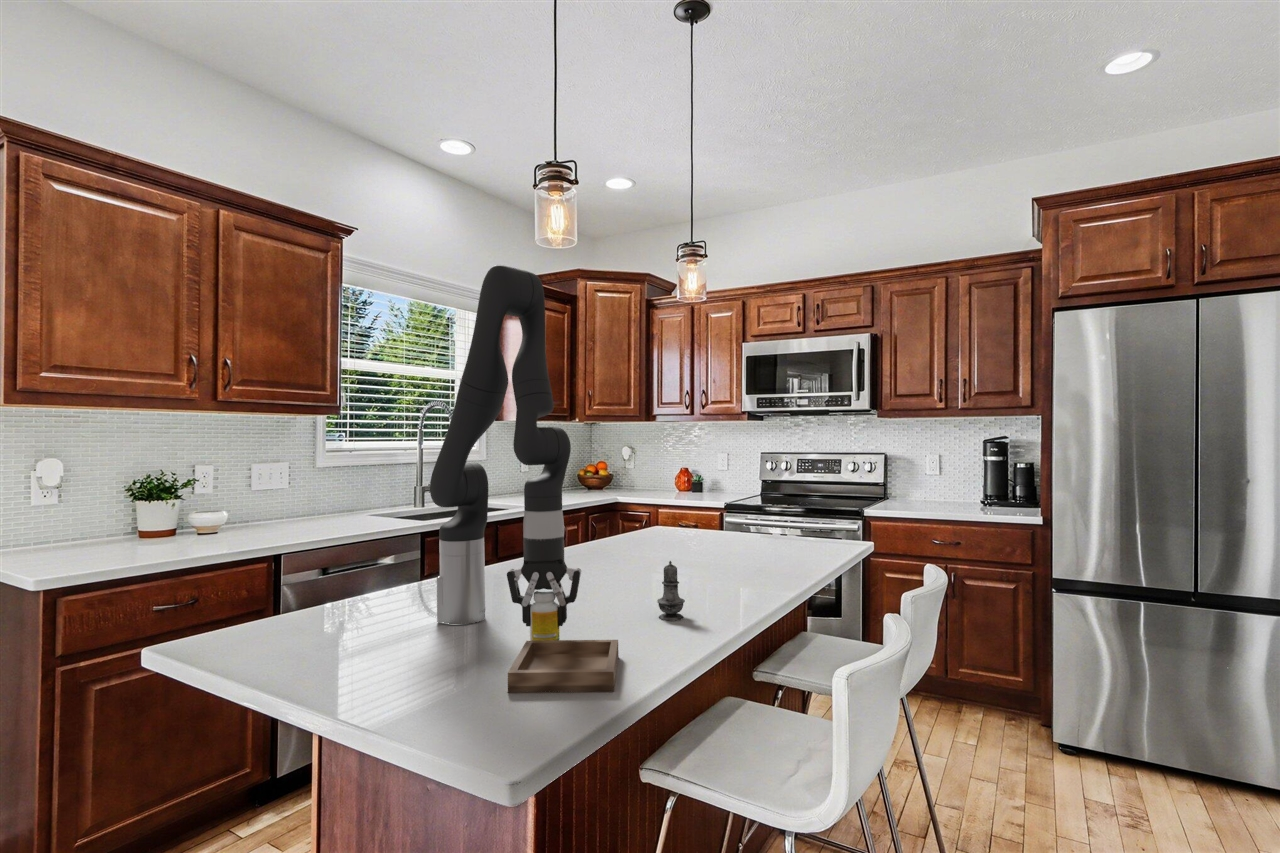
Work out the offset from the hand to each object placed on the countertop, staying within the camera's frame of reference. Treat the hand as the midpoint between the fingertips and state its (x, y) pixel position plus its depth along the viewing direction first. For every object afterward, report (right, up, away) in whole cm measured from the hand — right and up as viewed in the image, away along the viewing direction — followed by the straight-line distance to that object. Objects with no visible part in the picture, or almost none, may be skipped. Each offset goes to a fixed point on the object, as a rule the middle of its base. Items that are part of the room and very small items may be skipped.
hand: (545, 624), depth 127 cm
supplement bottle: (0, -4, 0) cm, 4 cm away
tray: (+6, -3, -16) cm, 17 cm away
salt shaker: (+24, -4, +17) cm, 30 cm away
